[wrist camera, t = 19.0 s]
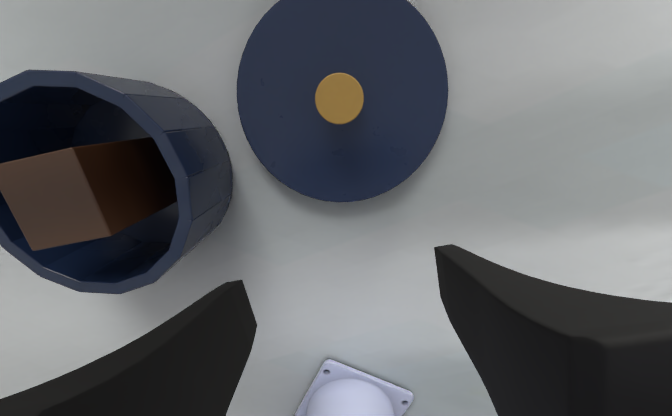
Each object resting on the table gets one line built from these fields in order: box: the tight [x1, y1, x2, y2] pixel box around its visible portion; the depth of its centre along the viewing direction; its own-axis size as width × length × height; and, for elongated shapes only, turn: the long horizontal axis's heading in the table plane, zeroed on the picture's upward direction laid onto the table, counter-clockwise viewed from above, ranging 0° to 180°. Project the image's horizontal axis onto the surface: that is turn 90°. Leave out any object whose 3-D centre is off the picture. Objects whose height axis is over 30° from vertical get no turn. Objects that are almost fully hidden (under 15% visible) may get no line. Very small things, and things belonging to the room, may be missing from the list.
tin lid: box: [237, 0, 448, 202], centre depth 17 cm, size 12×12×4 cm
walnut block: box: [0, 137, 177, 251], centre depth 17 cm, size 4×4×7 cm
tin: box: [0, 70, 232, 294], centre depth 18 cm, size 11×11×6 cm
